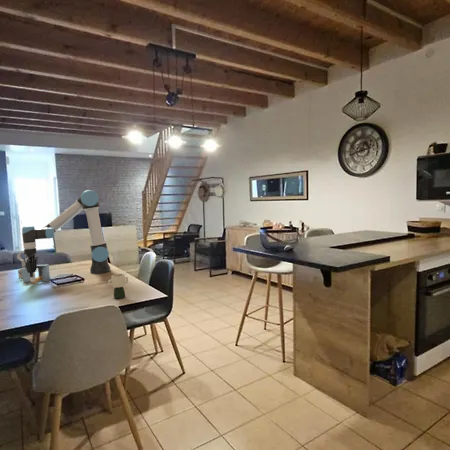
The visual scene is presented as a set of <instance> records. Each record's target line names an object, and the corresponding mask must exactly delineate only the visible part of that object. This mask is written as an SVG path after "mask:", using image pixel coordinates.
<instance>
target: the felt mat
mask: <svg viewBox="0 0 450 450" xmlns="http://www.w3.org/2000/svg"><path fill="white" fill-rule="evenodd" d="M72 275H73V273H62V274H57V275H56V276H54V277H53V278H56V277H57V278H58V277H64V276H69V277H70V276H72Z"/></svg>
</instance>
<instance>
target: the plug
mask: <svg viewBox="0 0 450 450" xmlns="http://www.w3.org/2000/svg"><path fill="white" fill-rule="evenodd" d="M37 270H38V276H37V277H35V280H36V281H35V282H31V284H37V283H39V282H41V281H42V271H41V268H37ZM40 280H41V281H40ZM38 281H39V282H38ZM36 282H37V283H36Z"/></svg>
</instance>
